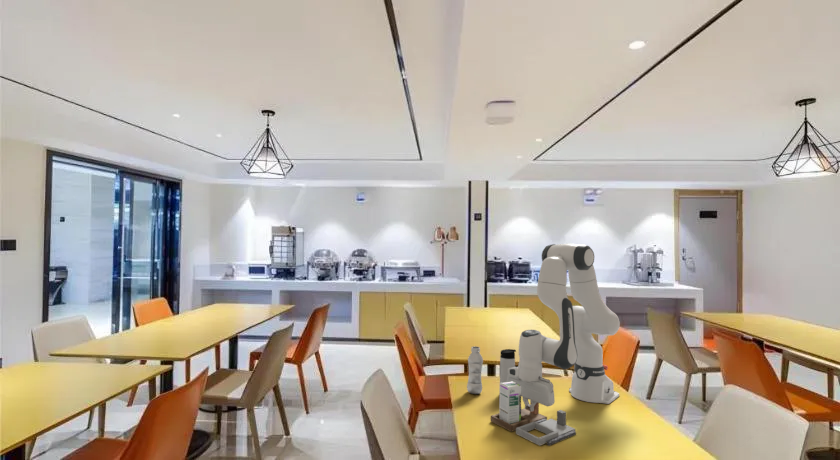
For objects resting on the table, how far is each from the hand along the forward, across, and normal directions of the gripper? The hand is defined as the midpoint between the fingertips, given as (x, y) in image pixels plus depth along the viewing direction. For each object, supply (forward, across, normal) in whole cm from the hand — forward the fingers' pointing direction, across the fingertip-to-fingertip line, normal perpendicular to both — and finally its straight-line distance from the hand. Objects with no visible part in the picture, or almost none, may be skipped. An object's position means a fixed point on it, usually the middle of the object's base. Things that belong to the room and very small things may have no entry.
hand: (529, 410), depth 157 cm
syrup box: (+3, 0, +11) cm, 11 cm away
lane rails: (+3, -6, +6) cm, 9 cm away
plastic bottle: (+3, +30, 0) cm, 30 cm away
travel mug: (+3, +20, -10) cm, 23 cm away
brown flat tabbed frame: (+3, 0, +6) cm, 7 cm away
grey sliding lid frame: (+3, -12, +6) cm, 14 cm away
